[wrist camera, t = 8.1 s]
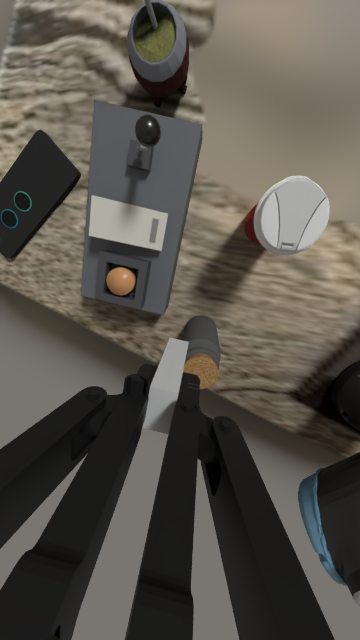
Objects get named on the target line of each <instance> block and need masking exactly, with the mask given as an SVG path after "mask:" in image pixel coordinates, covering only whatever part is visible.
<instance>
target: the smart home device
mask: <svg viewBox="0 0 360 640" xmlns="http://www.w3.org/2000/svg"><path fill="white" fill-rule="evenodd" d="M80 176H81V174H80V172H79V171H78V170H77V169H76V168H75V166H74V165H73V164H72V163H71V162H70V161H69V159H68V158H67V157H66V156H65V155H64V154H63V152H62V151H61V150H60V149H59V148H58V147H57V145H56V144H55V143H54V142H53V141H52V140H51V138H50V137H49V136H48V135H47V134H46V133H45V132H43V131H42V130H38V131H37V132H36V133H35V134H34V135H33V137H32V138H31V140H30V141H29V142H28V144H27V145H26V147H25V148H24V149H23V151H22V152H21V154H20V155H19V157H18V158H17V159H16V161H15V162H14V164H13V165H12V167H11V168H10V169H9V171H8V172H7V174H6V175H5V177H4V178H3V179H2V181H1V182H0V252H1V253H2V254H3V255H4V256H5V257H6V258H14V257H15V256H17V254H18V253H19V252H20V251H21V250H22V248H23V247H24V246H25V245H26V243H27V242H28V241H29V240H30V239H31V237H32V236H33V235H34V234H35V233H36V231H37V230H38V229H39V228H40V227H41V225H42V224H43V223H44V222H45V220H46V219H47V218H48V217H49V216H50V214H51V213H52V212H53V211H54V210H55V208H56V207H57V206H58V205H59V204H60V203H61V202H62V201H63V200H64V198H65V197H66V196H67V195H68V194H69V191H70V190H71V189H72V188H73V187H74V185H75V184H76V183H77V182H78V180H79V179H80Z"/></svg>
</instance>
